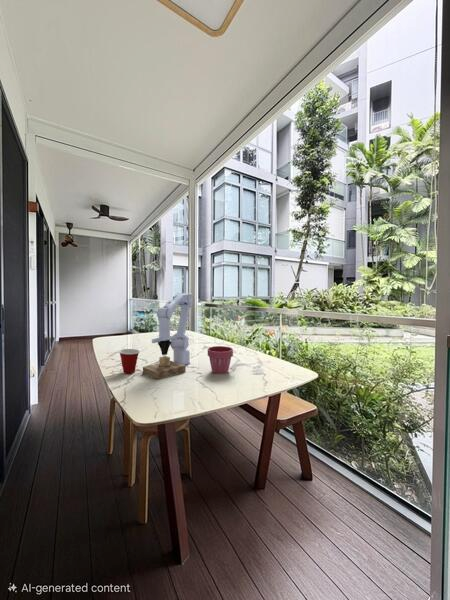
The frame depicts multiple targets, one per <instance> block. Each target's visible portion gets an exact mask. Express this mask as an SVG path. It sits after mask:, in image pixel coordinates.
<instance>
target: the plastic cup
mask: <svg viewBox="0 0 450 600" xmlns="http://www.w3.org/2000/svg"><path fill="white" fill-rule="evenodd" d="M140 352H141V351H140V350H139V349H134V348H124V349H123V348H122V349H120V350H119V351H118V353H119V355H120V361H121V366H122V372H123V373H124V374H125V373H126V374H127V375H129V374H133V373H135V372H136V367H137V363H138V357H139V355H140V354H139V353H140Z"/></svg>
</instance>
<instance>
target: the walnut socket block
mask: <svg viewBox="0 0 450 600" xmlns="http://www.w3.org/2000/svg"><path fill="white" fill-rule="evenodd" d="M186 365H187V364H186ZM186 365H182V364H179V363H176V362H174V360H170V367H166V368H161V367H159V363H155V364H150V365H145V366H142V375H143V374H144V375H145V376H148V377H150V378H153V379H155V380H160V379H164V378H167V377H171V376H175V375H178V374H179V375H180V374H183V373H186V371H187V370H186V369H187V367H186Z"/></svg>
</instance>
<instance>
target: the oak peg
mask: <svg viewBox="0 0 450 600" xmlns="http://www.w3.org/2000/svg"><path fill="white" fill-rule="evenodd" d="M170 361H171V357H170V356H167V355H163V356H160V357H159V363H158V364H159V367H161V368H166V367H170Z"/></svg>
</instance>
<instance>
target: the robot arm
mask: <svg viewBox="0 0 450 600" xmlns="http://www.w3.org/2000/svg"><path fill="white" fill-rule="evenodd" d="M193 302H194V296H193V294H192V292H176V294H175V295H174V298H173V299H172V300H169V301H167V303H165V304H164V306H163V307H160V308H158V309H157V312H156V316H157V320H158V337H156V338H152V339H151V343H152V344H155V343H157V345H158V346H159V349H160V351H161V352H160V353H161V355H163V356H167V355H168V352H169V349H170V348H171V349H172V351H173V362H176V363H179V364H182V365H189V364H191V362H190V360H191V359H190V350H189V349H188V348H189V339H190V338H189V337H188V335H186V331H187V325H188V320H189V314H190V309H191V308H192V306H193ZM177 307H179V308H180V309H181V311H180V314H179V315H180V316H179V321H178V325H177V331H176V333H174V334H173V335H171V318H172V316H173V313H174V311H176V310H177Z"/></svg>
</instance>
